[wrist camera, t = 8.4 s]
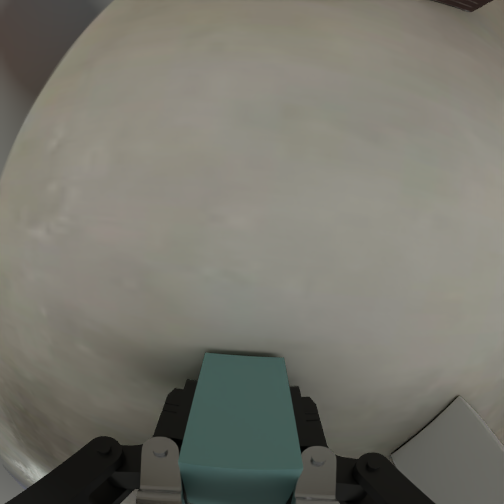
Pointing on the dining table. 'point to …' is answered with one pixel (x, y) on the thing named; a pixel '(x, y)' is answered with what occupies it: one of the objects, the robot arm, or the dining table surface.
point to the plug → (241, 433)
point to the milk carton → (455, 458)
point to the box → (465, 4)
